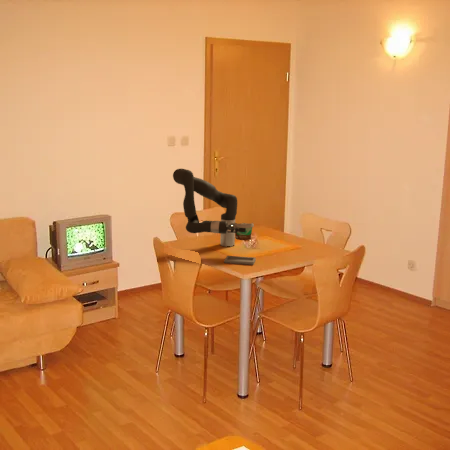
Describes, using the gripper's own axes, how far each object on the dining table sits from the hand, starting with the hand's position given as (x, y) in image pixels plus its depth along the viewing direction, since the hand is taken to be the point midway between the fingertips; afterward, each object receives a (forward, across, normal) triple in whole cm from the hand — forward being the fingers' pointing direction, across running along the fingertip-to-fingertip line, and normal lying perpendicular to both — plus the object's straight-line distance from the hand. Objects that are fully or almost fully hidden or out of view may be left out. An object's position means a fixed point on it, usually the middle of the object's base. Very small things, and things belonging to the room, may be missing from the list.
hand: (246, 228), depth 368 cm
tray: (-1, -13, +17) cm, 21 cm away
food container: (-1, 0, +7) cm, 7 cm away
